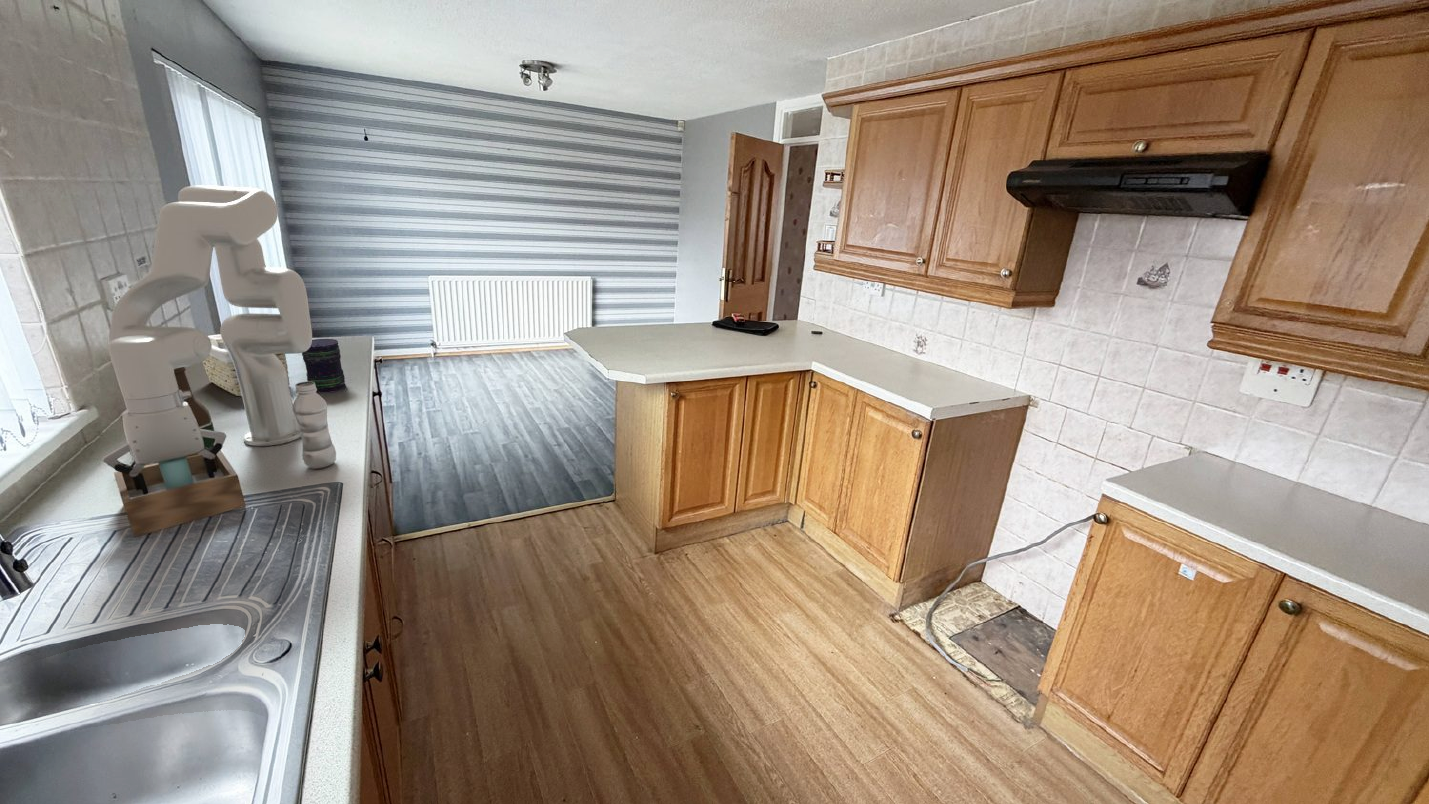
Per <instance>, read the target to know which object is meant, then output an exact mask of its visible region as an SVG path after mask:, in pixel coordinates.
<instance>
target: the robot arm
mask: <svg viewBox="0 0 1429 804" xmlns="http://www.w3.org/2000/svg"><path fill="white" fill-rule="evenodd" d="M177 199H178V200H177V201H175V202H174V201H173V202H169V203H167V204H165V205H164V206H163V207H162V208H161V209H160V211H159V213H158V219H157V225H156V232H155V237H154V247H153V253H152V258H151V265H150V269H149V271H148V273H147V274H146V275H144V276H143V277H141V279H139V280H138V281H137V282H135V283H133V285H131V287H129V288H128V289H127V290H126V292H124V294H123V295H122V296H121V297H120V298H119V300H118V301H117V302H116V304H115V306H114V308H113V311H112V315H111V322H110V327H109V335H108V341H109V342H108V346H107V350H108V354H109V358H110V360H111V363H112V367H113V369H114V373H115V376H116V379H117V382H118V385H119V388H120V391H121V394H122V397H123V401H124V403H125V408H126V410H125V411H122V425H123V431H124V436H125V439H126V443H124V444H122V445H120V446H118V447H117V448H116V449H114V450H112V451H110V452H109V453H107V454H106V455H103V457H102V461H103V463H105V464H107V466H109V467H111V468H112V469H113V470H115V472H121V473H124V474H127V475H129V476H131V477H132V478H133V481H134V484H135V487H136V490H141V489H142V492H143V494H144V495H146V494H147V493H149V492H148V489H147V486H146V483H145V480H144V477H143V474H142V472H141V470H142V469H143V467H144V466H146V465H151V464H155V463H158V462H161V461H166V460H171V459H175V458H180V457H184V456H189V455H193V454H197V453H198V454H200V455H202V456H204V457H203V461H204V465H205V468H206V472H207V474H208V476H209V478H214V474H213V472H217V469H216V465H215V462H214V458H215V455H216V454H217V453H218V452H219V451H220V450H221V451H222V449H223V445H224V443H225V441H226V439H227V434H226V433H225V432H223V431H216V430H215V431H211V430H205V429H199V426H198V423H197V421H196V418H195V416H194V414H193V412H192V410H191V408H190V406H189V404H188V403H187V402H183V401H185V400H184V399H187V398H190V397H192V396H191V392H190V391H181V390H179V388H178V384H177V381H176V377H175V374H174V369H176V368H181V367H185V368H187V367H191V366H195V365H198V364H200V363H202V361H204V360H205V359H206V358H207V357H208V356H209V354H210V352H211V349H212V344H211V340H210V339H209V337H208V336H209V335H207V334H206V333H205V332H204V331H202V330H200V329H198V328H194V327H188V326H159V325H158V326H155V325H153V326H152V325H149V321H150V319H151V317H152V316H153V314H155V312H156V311H157V310H158V309H159V308H161V307H162V306H163V305H165V304H166V303H168V302H170V301H172V300H174V299H175V300H176V299H177V298H180V297H182V296H186V295H188V294H190V293H193V292H196V291H198V290H200V289H203V288H204V287H206V286H207V285H208V284H209V281H210V275H211V274H210V273H211V268H212V267H211V266H212V259H213V250H214V251H215V254H216V259H217V265H218V266H217V267H218V271H219V272H218V273H219V278H220V284H221V289H222V294H223V296H224V299H225V300H226V302H227V303H228V304H230V305H232V306H234V307H237V308H249V309H252V308H253V309H277V310H278V312H279V313H251V312H250V313H248V312H247V313H238V314H233V315H230V316H228V317H227V318H225V319H224V320H223V321H222V323H221V325H220V329H219V330H220V332H219V333H220V334H221V337H222V340H223V342H224V343H223V344H224V346H225V348H227V350H228V352H229V354H230V356H231V359H232V361H233V364H234V367H235V371H236V375H237V379H238V383H239V387H240V391H241V395H242V396H241V398H242V403H243V407H244V410H245V415H246V418H247V423H248V427H249V430H250V431H249V432H247V433H246V434H244V436H243V440H244V443H245V444H246V445H250V446H252V447H253V446H254V447H267V446H268V447H269V446H277V445H283V444H286V443H289V442H290V443H291V442H292V441H293V442H294V441H295V440H297V439H300V438H302V437H301V433H300V429H299V425H298V422H297V420H296V417H295V415H294V412H293V409H292V408H293V403H294V402H293V398H292V394H291V390H290V385H289V384H288V379H287V374H286V370H285V367H284V365H283V364H282V362H281V361H280V360H279V359H278V358H277V357H276V356H275V355H274V354H285V355H286V354H287V355H290V354H302V353H303V352H305V351H307V350H308V349H309V348H310V346H311V343H312V340H313V329H312V322H311V316H310V306H309V300H308V294H307V293H308V292H307V287H306V285H305V281H303V278H302V277H301V275H300V274H299V273H297V272H296V271H295V270H293V269H289V268H287V267H286V268H285V267H268V266H266V262H265V256H264V251H263V246H262V245H261V242H260V241H259V240H258V238H260V237H261V236H263V235H264V234H266V232H268V231H269V230H270V229H272V227H274V226H275V224H276V222H277V220H278V215H279V214H278V213H279V212H278V205H277V203H276V200H274V198H273V197H272V195H270V194H269V193H268V192H267V191H265V190H263V189H259V188H254V187H253V188H252V187H237V186H236V187H234V186H223V185H221V186H220V185H206V184H205V185H189V186H185V187H183V188H182V189H180V190H179V192H178V194H177ZM202 437H208V438H214V439H215V442H214V443H213V444H212V446H211V447H210V448H209V449H208V448H206V447H204V441H203V438H202ZM128 453H129V454H130V456H131V457H132V459H133V461H132V462H131V463H130V464H127V463H123V462H121V461H120V460H118V459H119V458H121V457H123V456H125V455H126V454H128Z"/></svg>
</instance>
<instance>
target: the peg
mask: <svg viewBox="0 0 1429 804" xmlns="http://www.w3.org/2000/svg"><path fill="white" fill-rule="evenodd" d="M157 463H158V464H159V467H160V470H161V474H162V477H163V480H164V483H165V486H166V490H169V489H173V488H178V487H182V486H186V485H190V484H194V482H193V479H192V475H191V472H190V469H189V465H188V462H187V458H186V456H184V457H180V458H175V459H171V460H166V461H161V462H157Z"/></svg>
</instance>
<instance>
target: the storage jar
mask: <svg viewBox="0 0 1429 804" xmlns="http://www.w3.org/2000/svg"><path fill="white" fill-rule="evenodd" d="M301 356H302V360H303V363H304V365H305V369H306V381H312V382H315V386H316V388H317V391H316V393H317V394H327V393H328V394H329V393H336V392H339V391H342V390H344V389H345V388H346V387H347V384H346V380H345V379H346V377H345V374H344V370H343V367H342V362H341V359H342V357H341V349H340V346H339V340H337V339H334V338H316V339H312V343H311V346H310V348H309V349H308V350H307V351H305V352H303V353H301Z"/></svg>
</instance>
